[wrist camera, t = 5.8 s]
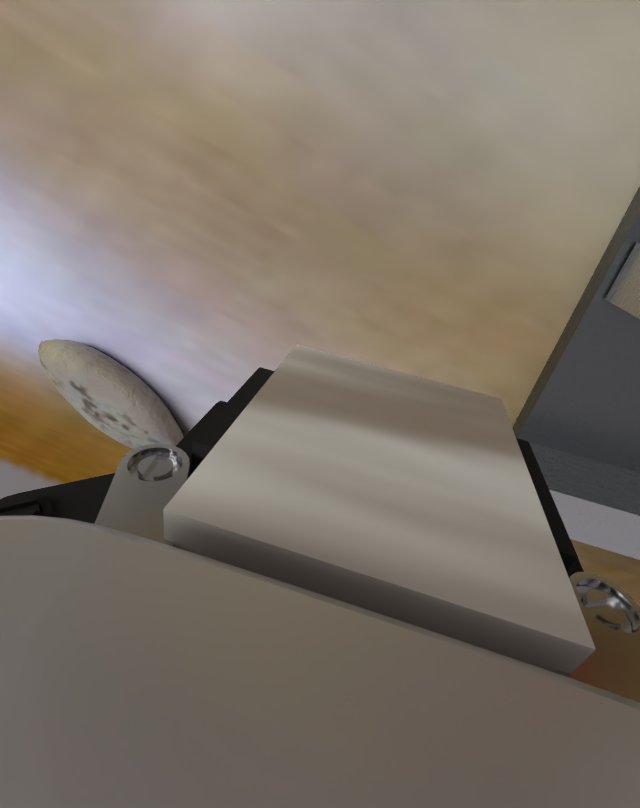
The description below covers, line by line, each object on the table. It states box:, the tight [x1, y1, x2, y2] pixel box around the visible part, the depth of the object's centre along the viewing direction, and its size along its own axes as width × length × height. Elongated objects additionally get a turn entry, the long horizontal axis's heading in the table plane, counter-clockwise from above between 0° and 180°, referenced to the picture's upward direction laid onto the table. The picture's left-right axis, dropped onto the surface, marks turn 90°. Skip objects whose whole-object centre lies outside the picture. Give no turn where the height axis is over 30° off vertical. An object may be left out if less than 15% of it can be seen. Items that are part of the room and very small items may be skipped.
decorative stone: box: [38, 339, 183, 449], centre depth 34 cm, size 6×16×3 cm, turn 49°
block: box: [163, 344, 596, 674], centre depth 9 cm, size 4×6×7 cm, turn 79°
